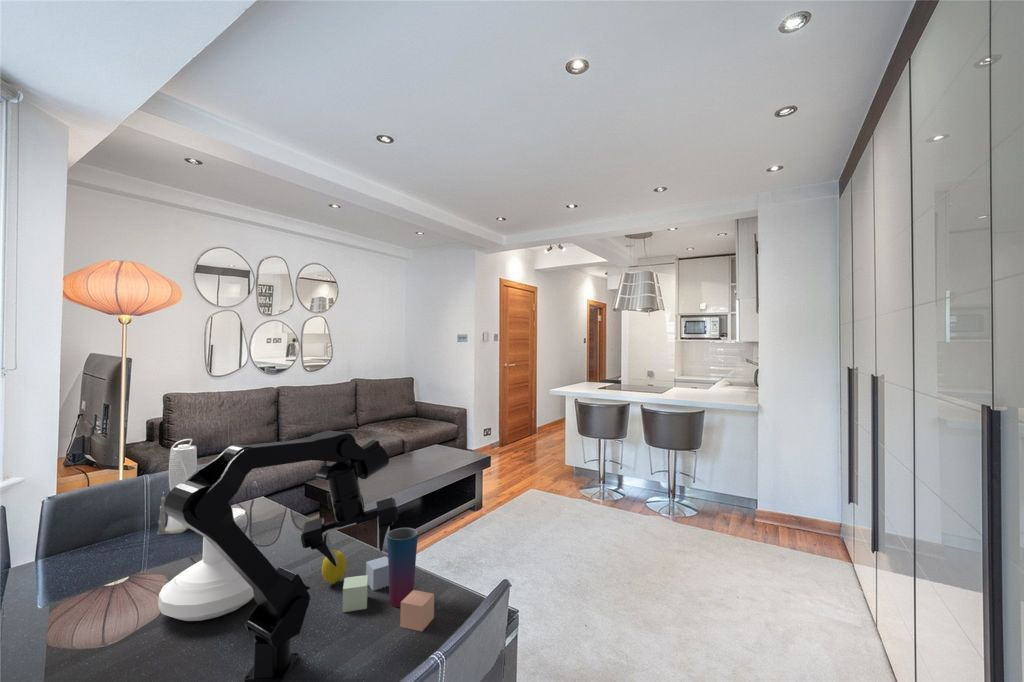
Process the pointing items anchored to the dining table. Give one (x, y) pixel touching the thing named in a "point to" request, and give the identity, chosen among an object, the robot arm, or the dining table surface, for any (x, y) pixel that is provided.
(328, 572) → the lemon
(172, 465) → the skyscraper
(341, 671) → the dining table surface
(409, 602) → the block terracotta
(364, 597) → the block sage
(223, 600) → the candle holder
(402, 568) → the cup
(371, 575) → the block slate
